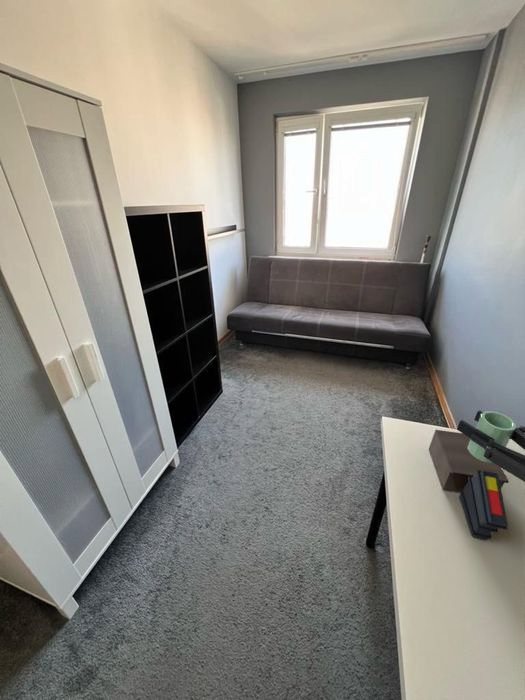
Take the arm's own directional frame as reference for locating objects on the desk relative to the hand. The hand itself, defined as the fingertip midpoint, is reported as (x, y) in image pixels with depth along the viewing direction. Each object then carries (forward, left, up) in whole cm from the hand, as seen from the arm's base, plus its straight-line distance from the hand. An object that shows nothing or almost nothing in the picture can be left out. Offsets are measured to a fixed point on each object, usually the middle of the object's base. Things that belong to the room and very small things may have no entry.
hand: (468, 419), depth 67 cm
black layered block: (-5, +9, -25) cm, 27 cm away
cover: (-7, -6, -17) cm, 19 cm away
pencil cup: (-3, +4, -6) cm, 8 cm away
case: (-7, -6, -25) cm, 26 cm away
